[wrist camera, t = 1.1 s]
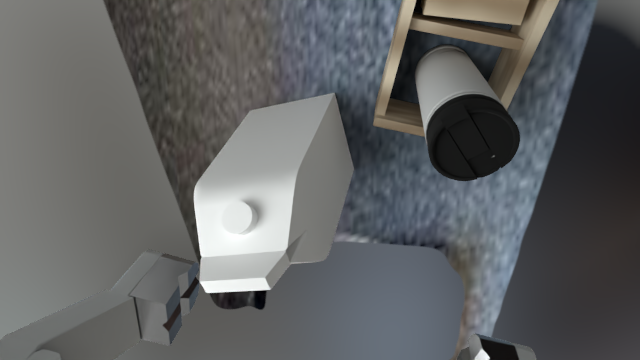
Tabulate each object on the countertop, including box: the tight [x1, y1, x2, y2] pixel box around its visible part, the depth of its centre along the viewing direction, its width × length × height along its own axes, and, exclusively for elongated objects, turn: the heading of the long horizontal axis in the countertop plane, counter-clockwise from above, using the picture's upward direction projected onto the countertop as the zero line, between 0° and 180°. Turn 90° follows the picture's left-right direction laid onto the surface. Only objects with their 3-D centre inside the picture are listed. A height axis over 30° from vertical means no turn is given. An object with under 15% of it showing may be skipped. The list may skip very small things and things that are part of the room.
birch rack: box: [373, 0, 559, 137], centre depth 37 cm, size 18×13×7 cm
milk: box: [194, 93, 354, 293], centre depth 39 cm, size 12×12×26 cm
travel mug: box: [415, 44, 520, 181], centre depth 33 cm, size 6×7×20 cm
